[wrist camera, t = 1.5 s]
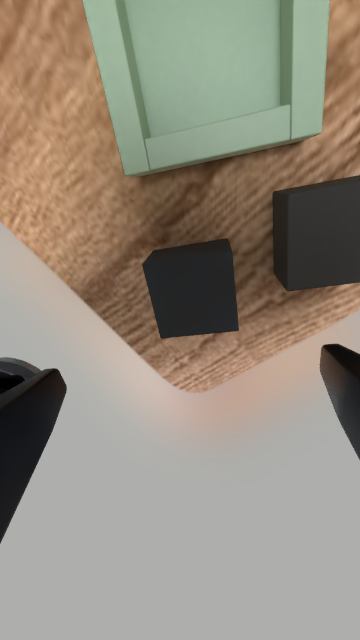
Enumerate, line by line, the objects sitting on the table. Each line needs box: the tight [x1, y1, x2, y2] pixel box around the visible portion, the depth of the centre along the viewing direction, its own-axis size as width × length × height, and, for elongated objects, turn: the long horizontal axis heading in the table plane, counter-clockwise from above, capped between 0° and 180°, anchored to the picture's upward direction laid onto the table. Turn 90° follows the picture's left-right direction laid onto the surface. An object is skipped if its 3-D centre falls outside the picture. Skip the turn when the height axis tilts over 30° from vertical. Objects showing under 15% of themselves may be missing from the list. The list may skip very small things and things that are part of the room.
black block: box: [273, 175, 360, 291], centre depth 13 cm, size 4×4×3 cm
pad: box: [142, 239, 239, 338], centre depth 15 cm, size 4×4×3 cm
